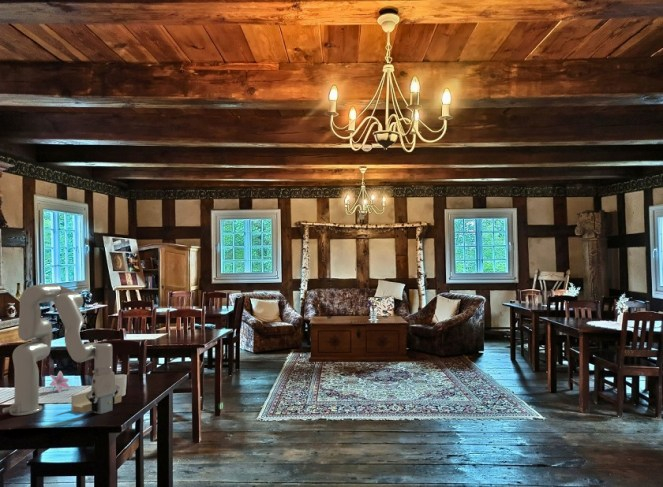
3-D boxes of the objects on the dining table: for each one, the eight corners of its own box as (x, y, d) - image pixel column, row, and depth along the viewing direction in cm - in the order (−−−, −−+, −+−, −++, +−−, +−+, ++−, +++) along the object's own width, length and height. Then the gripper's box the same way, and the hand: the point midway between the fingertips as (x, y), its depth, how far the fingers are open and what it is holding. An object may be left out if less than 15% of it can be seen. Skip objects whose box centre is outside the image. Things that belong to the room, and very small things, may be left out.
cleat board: (83, 413, 214) (83, 397, 214) (71, 410, 218) (71, 395, 219) (121, 401, 232) (121, 387, 232) (109, 399, 236) (109, 385, 236)
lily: (44, 397, 247) (53, 381, 247) (40, 384, 255) (48, 369, 255) (67, 399, 255) (76, 383, 255) (62, 387, 264) (71, 372, 264)
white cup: (108, 398, 238) (108, 378, 239) (111, 394, 246) (111, 375, 246) (125, 396, 240) (125, 377, 241) (127, 392, 248) (127, 373, 249)
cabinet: (101, 414, 213) (101, 397, 213) (93, 412, 215) (93, 395, 216) (113, 410, 218) (113, 393, 218) (105, 408, 221) (105, 392, 221)
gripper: (91, 375, 208) (91, 415, 207) (124, 367, 223) (124, 404, 223) (80, 373, 212) (80, 412, 211) (114, 366, 227) (114, 402, 226)
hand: (103, 408), depth 217 cm, fingers open, 8 cm apart
